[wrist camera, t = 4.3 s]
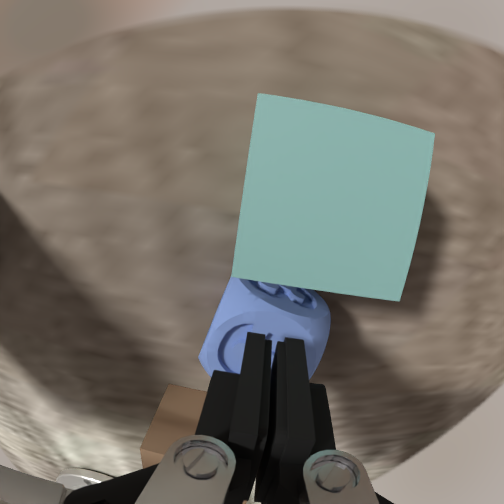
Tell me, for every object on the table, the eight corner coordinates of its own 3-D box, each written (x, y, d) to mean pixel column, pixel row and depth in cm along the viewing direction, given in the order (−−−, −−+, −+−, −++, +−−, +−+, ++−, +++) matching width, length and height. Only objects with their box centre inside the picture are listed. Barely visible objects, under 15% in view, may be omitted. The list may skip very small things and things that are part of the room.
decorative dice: (286, 358, 15) (288, 413, 11) (209, 328, 15) (189, 379, 11) (323, 288, 14) (340, 333, 10) (239, 254, 14) (227, 289, 10)
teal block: (359, 255, 14) (399, 301, 9) (246, 237, 14) (231, 276, 9) (381, 142, 12) (434, 133, 8) (263, 119, 12) (257, 93, 8)
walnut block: (248, 454, 17) (241, 517, 13) (170, 439, 18) (148, 499, 13) (261, 399, 16) (255, 471, 11) (169, 383, 16) (139, 448, 11)
